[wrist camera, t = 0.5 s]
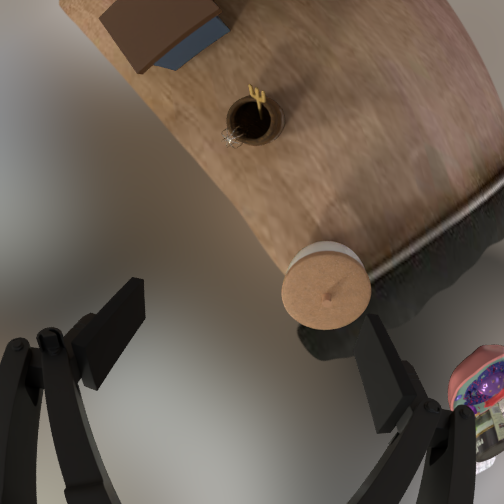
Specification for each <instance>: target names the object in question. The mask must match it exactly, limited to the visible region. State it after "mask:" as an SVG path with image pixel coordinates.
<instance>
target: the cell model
mask: <svg viewBox="0 0 504 504" xmlns="http://www.w3.org/2000/svg"><path fill="white" fill-rule="evenodd" d="M503 398H504V346H502V345H482V346H480V347H478V348H477V349H476V350H475V351H474V352H473V353H472V354H471V355H469V356H468V357H467V358H466V359H464V360H463V361H462V362H461V363H460V364H459V365H458V366H457V367H456V368H455V370H454V371H453V373H452V375H451V378H450V380H449V385H448V402H449V406H450V410H451V411H453V410H454V409H455V408H456V407H457V406H458V405H460V404H463V405H467V406H469V407H470V408H471V409H472V410H473V412H474V414H475V417H476V416H478V415H480V414H482V413H484V412H486V411H487V410H489V409H490V408H491V407H493V406H494V405H495V404H497V403H498V402H499V401H501V400H502V399H503Z"/></svg>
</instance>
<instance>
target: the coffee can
mask: <svg viewBox="0 0 504 504" xmlns="http://www.w3.org/2000/svg"><path fill="white" fill-rule="evenodd" d="M475 422H476V462H483V461H486V460H488V459H491V458H493V457H494V456H496V455H498V454H499V453H501V452H502V451H504V418H503V415H502V412H501V409H500V407H499V404H498V403H497V404H495V405H494V406H493V407H491V408H490V409H489V410H487V411H486V412H484V413H482V414H480V415H478V416H476V417H475Z"/></svg>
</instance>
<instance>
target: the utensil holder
mask: <svg viewBox="0 0 504 504" xmlns="http://www.w3.org/2000/svg"><path fill="white" fill-rule="evenodd" d="M249 91H250V96H246V97H244V98H241V99H239V100H238V101H236V102H235V103H234V104H233V105H232V106H231V107H230V109H229V111H228V114H227V127H228V128H227V129H228V130H229V132H230V133H231V135H232V136H233V137H234V138H235V139H237V140H238V141H240V142H242V143H245V144H247V145H252V146H260V145H264V144H267V143H269V142H271V141H273V140H275V139H276V138H277V137H278V136H279V135H280V134H281V132H282V130H283V128H284V124H285V116H284V113H283V110H282V109H281V107H280V106H279V105H278V104H277V103H276V102H275V101H274V100H272V99H270V98H268V97H266V95H265V91H261V94H262V95H260V93H259V89H258V88H257V87H255V92H254V90H253V87H252V85H251V84H249ZM225 130H226V129H225ZM222 132H223V131H222ZM223 137H224V136H223ZM227 137H229V136H228V134H227ZM227 137H226V139H227ZM230 137H231V136H230ZM224 139H225V138H224ZM224 139H223V140H224ZM232 139H233V138H232ZM229 140H230V138H228V141H229ZM221 141H222V140H221ZM225 141H227V140H225ZM230 141H231V140H230ZM230 141H229V142H230ZM232 142H233V141H232ZM227 143H228V142H227ZM235 143H236V142H235ZM230 144H231V143H230ZM241 145H242V144H241ZM241 145H240V146H241ZM230 146H232V144H231V145H230ZM226 147H227V145H226ZM228 147H229V146H228ZM232 147H233V146H232ZM233 148H234V147H233ZM237 148H238V147H237Z"/></svg>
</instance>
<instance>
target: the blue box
mask: <svg viewBox="0 0 504 504" xmlns="http://www.w3.org/2000/svg"><path fill="white" fill-rule="evenodd" d="M222 12H223V11H222V10H221V9H220V8H219V7H218V6H217V5H216V3H215V2H214V1H213V0H117V1H115V2H114V3H113V4H112V5H111V6H110V7H109V8H108V9H107V10H106V11H105V12H104V13H103V14H102V15H101V16H100V17H99V20H100V21H101V23H102V24H103V25H104V27H105V28H106V30H107V31H108V33H109V34H110V35H111V37H112V38H113V40H114V41H115V43H116V44H117V46H118V47H119V48H120V50H121V51H122V53H123V54H124V56H125V57H126V59H127V60H128V61H129V63H130V64H131V66H132V67H133V69H134V70H135V72H136V73H137V74H144V73H145V72H146V71H147V70H148V69H149V68H150V67H151V66H152V65H156V66H160V67H164V68H168V69H171V70H175V71H176V70H177V69H178V68H180V67H181V66H182V65H183V64H185V63H186V62H187V61H189V60H190V59H191V58H193V57H194V56H195V55H197V54H198V53H199V52H201V51H202V50H203V49H205V48H206V47H207V46H209V45H210V44H212V43H213V42H215V41H216V40H217V39H219V38H220V37H222V36H223V35H225V34H226V33H228V32H229V31H230V30H229V28H228V27H227V26H226V25H225V24H224V22H223V21H222V20H221V19H220V18H219V17H218V16H217V15H219V14H220V13H222Z"/></svg>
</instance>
